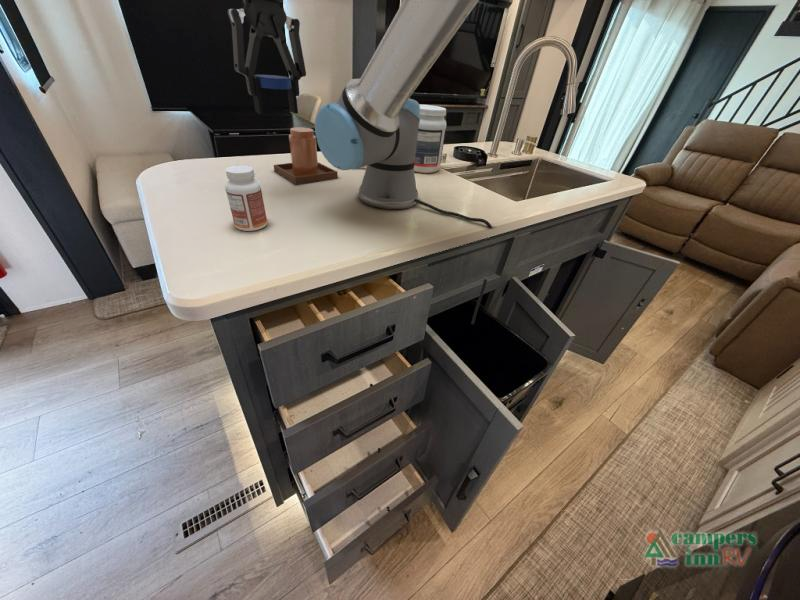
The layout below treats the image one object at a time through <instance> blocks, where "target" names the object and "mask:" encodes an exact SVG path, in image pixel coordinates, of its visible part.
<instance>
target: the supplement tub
mask: <svg viewBox="0 0 800 600" xmlns="http://www.w3.org/2000/svg"><path fill="white" fill-rule="evenodd" d="M419 106H420V115H419V117H420V122H419V128H418V136H417V145H416V154H415V162H414V173H415V172H416V173H421V174H431V173H432V174H433V173H434V172H438V171H439V170H440V168H441V163H442V158H443V157H442V156H443V150H444V144H445V137H446V130H447V120H446V119H445V117H446V115H447V108H445V107H442V106H438V105H432V104H421V103H419Z"/></svg>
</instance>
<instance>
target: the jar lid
mask: <svg viewBox="0 0 800 600" xmlns="http://www.w3.org/2000/svg"><path fill="white" fill-rule="evenodd" d="M254 77H255V78H259V84H260V89H261V88H262V89H270V90H287V89H292V84H291V78H290V77H289V76H283V75H274V74H255V75H254Z"/></svg>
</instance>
